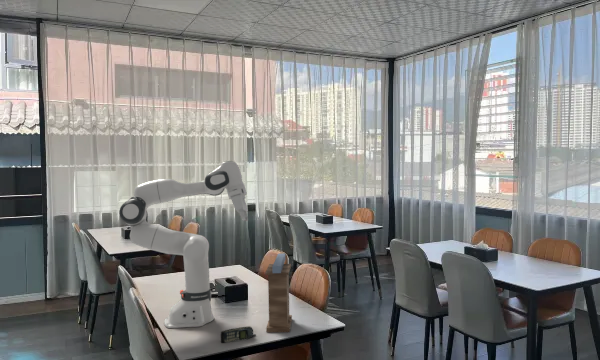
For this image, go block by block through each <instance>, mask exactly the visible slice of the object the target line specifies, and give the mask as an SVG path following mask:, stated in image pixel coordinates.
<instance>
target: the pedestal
mask: <svg viewBox="0 0 600 360" xmlns="http://www.w3.org/2000/svg"><path fill="white" fill-rule="evenodd" d="M273 264H274V263H269V264H268V266H267V268H266V270H265V272H264V273H265V276H267V281H268V287H267V288H268V321H267V325H266V328H265V330H266V333H290V331H291V327H292V321H293V315H292V314H290V281H289V280H290V278H289V277H290V275H289V274H290V271H291V268H292V264H291V263H284V265H283V268H282V271H281V273H273V270H272V266H273Z"/></svg>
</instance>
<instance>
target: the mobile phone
mask: <svg viewBox="0 0 600 360" xmlns="http://www.w3.org/2000/svg"><path fill="white" fill-rule="evenodd" d="M256 336H257V334H254V328H253V327H252V326H241V327H235V328H231V329H230V328H229V329H225V330H222V331H220V342H221V344H226V343H227V344H228V343H230V342H232V343H233V342H239V341H244V340H245V341H246V340H248V339H250V338H253V337H256Z"/></svg>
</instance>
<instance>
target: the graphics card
mask: <svg viewBox="0 0 600 360" xmlns="http://www.w3.org/2000/svg"><path fill="white" fill-rule="evenodd" d="M209 281H210V289H211V299H212V298H218V297H217V296H218V295H217V294H218V292H217V291H215V286H214V285H215V284H216V283H215V281H214V280H209ZM214 283H215V284H214Z"/></svg>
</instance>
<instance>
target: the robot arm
mask: <svg viewBox="0 0 600 360" xmlns="http://www.w3.org/2000/svg"><path fill="white" fill-rule="evenodd" d="M245 186H246V185H245V183H244V182H243V175H242V172H241V169H240V167H239V165H238V164H237V163H236V162H235V161H232V160H228V161H227V160H226V161H223V162H221V163H220V165H219V166H218V167H216V168H215V169H214V170H213V171H211V172H209V173H208V174H207V175H206V176H205V179H204V180H201V181H195V182H185V183H184V182H180V181H178V180H176V179H172V178H161V179H154V180H150V181H145V182H143V183H140V184H138V185H136V186H135V187H134V190H133V196H131V197H130V198H129V199H127V200H126V201H125V202H124V203H122V204H121V206H120V207H119V212H118V213H119V218H120V220H121V221H122V222H124V223H125V224H126V225H127V226H129V227H130V233H129V239H130V241H131V243H133V244H135V245H137V246H139V247H142V248H144V249H147V250H151V251H154V252H158V253H163V254H166V255H177V256H183V267H184V269H183V270H184V279H185V283H184V284H185V285H184V286H185V290H184V289H181V290H180V291H179V294H180V295H181V296H180V300H178V301H177V302H176V303H175V304H173V305H172V306H171V308H170V310H169V314H168V316H167V317H165V319H164V322H163V324H164V327H165V328H168V329H177V328H194V327H195V328H197V327H202V326H205V325H206V324H208V323H210V322H212V321H213V320H214V319H215V317H214V316H215V315H214V313H213V310H212V309H213V307H212V304H211V302H212V298H211V289H210V281H211V280H210V267H209V266H210V265H209V249H210V243H209V241H208V239H207V238H206V237H205V236H204V235H201V234H196V233H191V232H185V231H178V230H174V229H170V228H167V227H166V228H165V227H163V226H159V225H154V224H151V223H150V222H148V217H149V216H148V208H149V207H151V206H153V205H157V204H162V203H168V202H171V201H175V200H177V199H181V198H184V197H185V198H186V197H189V196H190V197H191V196H196V195H209V196H215V197H216V196H219V195H221V194H223V193H224V191H225V189H226V192H227V196H228V199H229V200H231V202H232V205H233V207H234V209H235V212H237V213H238V214H239V216H240V218H241V219H240V220H241V221H243V222H248V221H249V218H248V213H247V212H249V209H248V205H247V202H246V200H245V199H246V196H247V194H248V193H247V192H248V191H247V189H246V187H245Z"/></svg>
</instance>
